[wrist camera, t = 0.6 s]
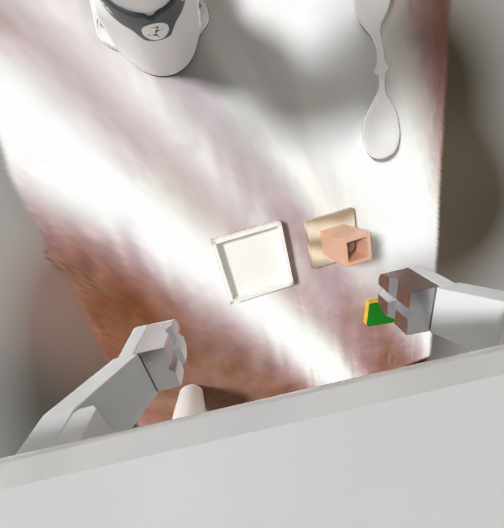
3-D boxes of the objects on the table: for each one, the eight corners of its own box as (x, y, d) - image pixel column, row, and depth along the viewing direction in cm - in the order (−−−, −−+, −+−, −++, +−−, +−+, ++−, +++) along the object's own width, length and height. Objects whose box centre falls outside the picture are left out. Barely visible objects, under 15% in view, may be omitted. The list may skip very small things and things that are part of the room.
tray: (210, 239, 54) (210, 241, 52) (277, 219, 56) (280, 221, 53) (230, 299, 60) (231, 304, 58) (290, 280, 61) (293, 284, 59)
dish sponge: (404, 315, 73) (410, 319, 70) (362, 322, 71) (367, 326, 68) (408, 294, 70) (414, 297, 68) (364, 300, 68) (370, 304, 66)
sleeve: (319, 230, 57) (342, 240, 48) (343, 223, 57) (370, 231, 48) (323, 254, 59) (345, 267, 50) (345, 247, 60) (372, 259, 50)
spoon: (386, -28, 45) (400, -44, 42) (395, 153, 56) (407, 152, 53) (342, -18, 44) (352, -33, 41) (360, 164, 56) (369, 163, 52)
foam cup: (202, 408, 69) (201, 456, 57) (169, 404, 67) (161, 453, 55) (212, 382, 67) (214, 426, 55) (179, 377, 64) (173, 422, 52)
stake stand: (303, 221, 57) (319, 227, 49) (350, 207, 58) (372, 211, 50) (311, 266, 61) (327, 279, 53) (354, 253, 62) (376, 263, 54)
